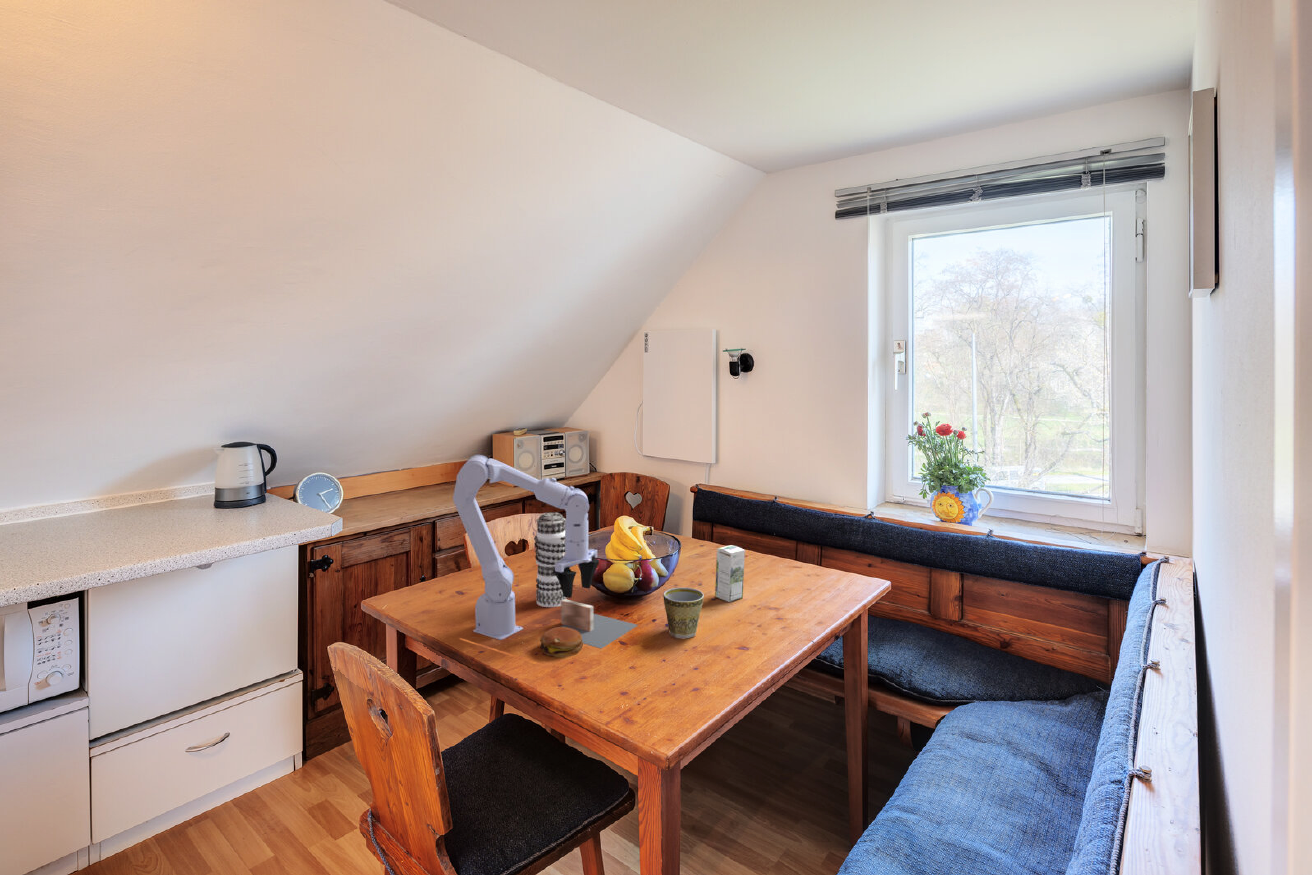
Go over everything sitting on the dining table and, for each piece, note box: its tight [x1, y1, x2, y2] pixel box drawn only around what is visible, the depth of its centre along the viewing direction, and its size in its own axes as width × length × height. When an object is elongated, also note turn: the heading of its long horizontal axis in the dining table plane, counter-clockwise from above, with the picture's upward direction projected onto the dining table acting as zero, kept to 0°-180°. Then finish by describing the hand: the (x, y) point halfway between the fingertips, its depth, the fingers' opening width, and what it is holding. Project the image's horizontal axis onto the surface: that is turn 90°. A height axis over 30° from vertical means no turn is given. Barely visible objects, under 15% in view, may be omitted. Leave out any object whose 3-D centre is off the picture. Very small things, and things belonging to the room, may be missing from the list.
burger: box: [539, 626, 584, 659], centre depth 155 cm, size 10×9×5 cm
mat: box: [560, 613, 639, 649], centre depth 167 cm, size 16×16×1 cm
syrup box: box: [714, 544, 746, 603], centre depth 189 cm, size 6×6×14 cm
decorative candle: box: [533, 512, 568, 608], centre depth 183 cm, size 9×9×25 cm
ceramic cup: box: [662, 587, 705, 640], centre depth 166 cm, size 13×10×10 cm
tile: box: [560, 598, 594, 632], centre depth 168 cm, size 9×2×6 cm, turn 59°
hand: (576, 592), depth 167 cm, fingers open, 7 cm apart
